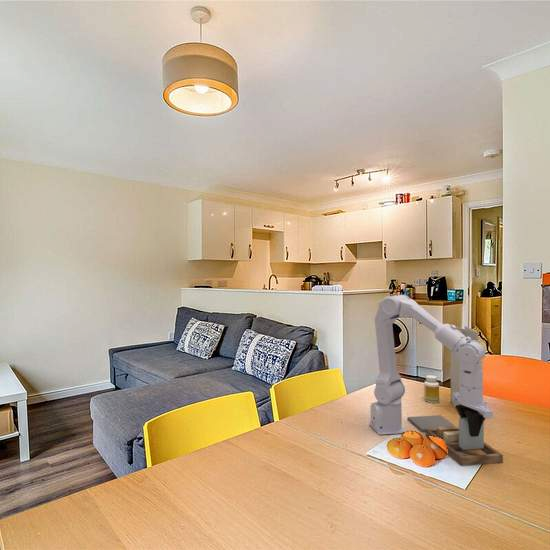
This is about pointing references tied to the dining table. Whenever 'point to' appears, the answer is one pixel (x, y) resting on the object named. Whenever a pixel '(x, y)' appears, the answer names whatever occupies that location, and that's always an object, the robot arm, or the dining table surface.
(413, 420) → the rubber mat
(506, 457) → the dining table surface
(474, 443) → the grey rectangular block
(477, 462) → the walnut rack
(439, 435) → the stained offcut
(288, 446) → the dining table surface
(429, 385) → the supplement bottle
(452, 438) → the birch offcut
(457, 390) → the brochure
